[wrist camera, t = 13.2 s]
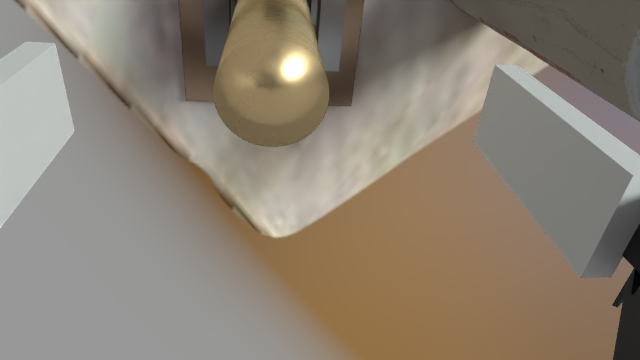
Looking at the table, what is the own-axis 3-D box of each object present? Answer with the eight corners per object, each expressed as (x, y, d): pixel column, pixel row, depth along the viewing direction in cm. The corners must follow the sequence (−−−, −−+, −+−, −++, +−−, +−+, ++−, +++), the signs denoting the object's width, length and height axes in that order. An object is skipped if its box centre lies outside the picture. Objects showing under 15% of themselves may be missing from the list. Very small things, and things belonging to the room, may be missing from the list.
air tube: (244, -57, 33) (207, 31, 15) (303, -52, 34) (337, 39, 15) (244, 5, 35) (213, 147, 17) (299, 8, 36) (326, 150, 18)
